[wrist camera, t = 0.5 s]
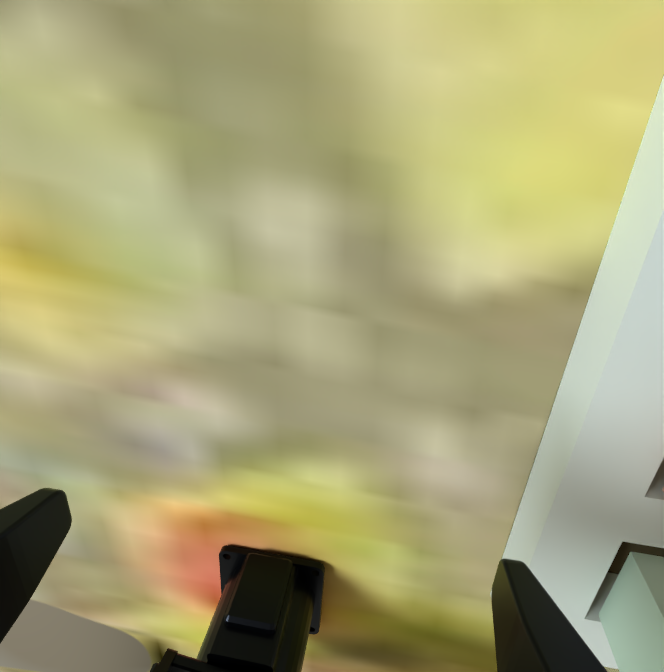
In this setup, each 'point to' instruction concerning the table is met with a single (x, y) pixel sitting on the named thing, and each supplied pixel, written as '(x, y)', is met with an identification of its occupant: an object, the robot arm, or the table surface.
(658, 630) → the button sage
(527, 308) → the table surface
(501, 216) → the table surface
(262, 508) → the table surface
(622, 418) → the panel
